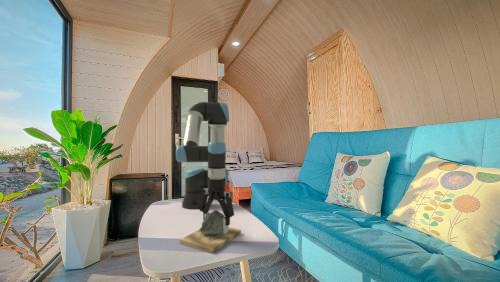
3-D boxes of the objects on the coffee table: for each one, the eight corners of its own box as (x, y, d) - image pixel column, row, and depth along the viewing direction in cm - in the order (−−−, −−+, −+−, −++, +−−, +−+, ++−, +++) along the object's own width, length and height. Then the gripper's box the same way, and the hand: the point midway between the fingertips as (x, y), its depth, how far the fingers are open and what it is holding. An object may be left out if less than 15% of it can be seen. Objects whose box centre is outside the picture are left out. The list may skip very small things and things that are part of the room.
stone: (213, 211, 88) (219, 204, 98) (194, 226, 89) (202, 217, 99) (228, 230, 88) (232, 221, 98) (209, 245, 88) (215, 234, 98)
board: (211, 226, 103) (211, 223, 103) (240, 233, 96) (240, 229, 96) (179, 243, 86) (179, 239, 86) (212, 253, 78) (212, 249, 78)
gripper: (191, 176, 96) (190, 228, 96) (233, 181, 85) (232, 239, 85) (202, 174, 102) (202, 222, 102) (243, 178, 92) (242, 232, 92)
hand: (216, 230), depth 94 cm, fingers closed on stone, 9 cm apart
